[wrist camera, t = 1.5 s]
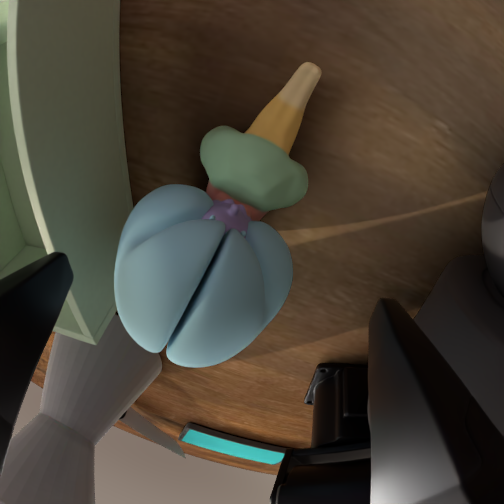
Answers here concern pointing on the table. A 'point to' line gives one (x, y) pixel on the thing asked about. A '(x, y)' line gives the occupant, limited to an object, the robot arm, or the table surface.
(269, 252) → the toy flower bud
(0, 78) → the bin
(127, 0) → the table surface
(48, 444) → the lamp
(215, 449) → the smartphone
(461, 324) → the binoculars
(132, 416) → the kitchen knife
